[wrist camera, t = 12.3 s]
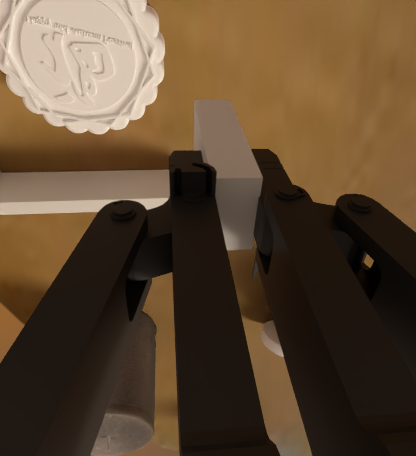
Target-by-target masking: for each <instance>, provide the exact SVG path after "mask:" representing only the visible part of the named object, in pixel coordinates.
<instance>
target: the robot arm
mask: <svg viewBox="0 0 416 456" xmlns="http://www.w3.org/2000/svg"><path fill="white" fill-rule="evenodd" d="M169 185H170V197H169V199H168V200H167V201H166V202H165V203H164V204H162V205H160V206H158V207H156V208H152V209H148V210H147V209H146V208H145V206H144V205H142V204H141V203H139V202H136V201H132V200H118V201H114V202H111V203H109V204H107V205H105V206H104V207H103V208H101V209H100V210H99V212H98V214H97V215H96V217H95V218H94V220H93V221H92V223H91V224H90V226H89V227H88V229H87V230H86V232H85V234H84V235H83V237H82V238H81V240H80V241H79V243H78V244H77V246H76V247H75V249H74V251H73V252H72V254H71V255H70V257H69V258H68V260H67V261H66V263H65V264H64V266H63V268H62V269H61V271H60V272H59V274H58V275H57V277H56V278H55V280H54V281H53V283H52V284H51V286H50V288H49V289H48V291H47V292H46V294H45V295H44V297H43V298H42V300H41V301H40V303H39V305H38V306H37V308H36V309H35V311H34V312H33V314H32V315H31V317H30V318H29V320H28V321H27V323H26V325H25V326H24V328H23V329H22V331H21V332H20V334H19V336H18V337H17V339H16V340H15V342H14V343H13V345H12V346H11V348H10V349H9V351H8V352H7V354H6V355H5V357H4V359H3V360H2V362H1V363H0V456H90V455H91V452H92V449H93V447H94V444H95V441H96V438H97V435H98V433H99V430H100V427H101V424H102V421H103V419H104V416H105V413H106V410H107V407H108V405H109V402H110V399H111V396H112V393H113V390H114V388H115V385H116V382H117V379H118V376H119V374H120V371H121V368H122V365H123V362H124V360H125V357H126V354H127V351H128V348H129V346H130V343H131V340H132V337H133V334H134V331H135V329H136V326H137V323H138V320H139V317H140V315H141V312H142V309H143V306H144V303H145V301H146V298H147V295H148V292H149V289H150V286H151V284H152V278H154V277H157V276H160V275H164V274H167V273H170V272H172V274H173V299H174V325H175V351H176V376H177V402H178V427H179V453H180V456H280V454H279V451H278V449H277V447H276V445H275V444H274V443H273V442H272V441H271V440H270V439H269V437H268V435H267V432H266V428H265V424H264V419H263V415H262V410H261V405H260V401H259V396H258V392H257V387H256V382H255V378H254V373H253V369H252V364H251V359H250V355H249V350H248V345H247V341H246V336H245V332H244V327H243V322H242V318H241V313H240V308H239V304H238V299H237V295H236V290H235V285H234V281H233V276H232V271H231V267H230V262H229V258H228V253H227V250H250V249H252V248H253V241H254V237H255V240H256V244H257V250H256V256H255V262H254V268H253V277H256V275H257V271H258V270H259V273H260V277H261V280H262V283H263V287H264V290H265V294H266V297H267V301H268V304H269V307H270V311H271V314H272V318H273V321H274V325H275V328H276V332H277V335H278V338H279V342H280V345H281V349H282V352H283V356H284V359H285V362H286V366H287V369H288V373H289V376H290V380H291V383H292V387H293V390H294V393H295V397H296V400H297V404H298V407H299V411H300V414H301V417H302V421H303V424H304V428H305V431H306V435H307V438H308V442H309V445H310V448H311V452H312V455H313V456H416V232H414V231H413V230H412V229H411V228H409V227H408V226H407V225H406V224H404V223H403V222H402V221H401V220H399V219H398V218H397V217H396V216H394V215H393V214H392V213H391V212H389V211H388V210H387V209H386V208H384V207H383V206H382V205H381V204H380V203H378V202H377V201H375V200H373V199H372V198H369V197H366V196H365V195H361V194H359V195H358V194H345V195H342V196H340V197H339V198H338V199H337V201H336V205H335V206H332V205H326V204H320V203H316V202H313V201H312V199H311V197H310V195H309V194H308V193H307V192H306V191H305V190H304V189H302V188H301V187H299V186H296V185H292V183H291V181H290V179H289V177H288V175H287V174H286V172H285V170H284V168H283V166H282V164H280V160H279V159H278V157H277V155H276V154H274V153H273V152H272V151H270V150H269V149H251V148H250V146H249V144H248V141H247V139H246V137H245V134H244V132H243V130H242V127H241V125H240V123H239V120H238V118H237V116H236V113H235V111H234V109H233V106H232V104H231V102H230V100H196V99H195V107H194V151H174V152H173V153H172V154H171V155H170V156H169ZM367 254H368V255H369V256H370V257H371V258H372V259H373V260H374V262H373V265H372V267H371V268H369V267H368V266H367V265H366V264H365V263H364V260H365V257H366V255H367Z"/></svg>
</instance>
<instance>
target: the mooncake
mask: <svg viewBox="0 0 416 456" xmlns="http://www.w3.org/2000/svg"><path fill="white" fill-rule="evenodd" d="M164 55H165V42H164V38H163V35H162V34H161V33H160V31H159V18H158V15H157V13H156V11H155V10H154V9H153V8H152V7H151V6H149V5H147V0H0V70H1V71H2V72H4V73H5V74H7V75H6V82H7V85H8V87H9V89H10V90H11V91H12V92H13V93H15V94H16V95H18V96H21V97H23V102H24V104H25V106H26V107H27V108H28V109H29V110H30V111H31V112H33V113H36V114H43V116H44V118H45V120H46V121H47V122H48V123H50V124H51V125H54V126H64V125H65V126H66V127H67V128H68V129H69V130H70V131H72V132H74V133H83V132H85V131H87V130H89V131H90V132H91V133H94V134H103V133H105V132H107V131H108V130H109V128H111V129H114V130H120V129H123V128H125V127H126V126H127V124H128V122H129V120H136V119H139V118H140V117H142V115H143V114H144V112H145V105H149V104H151V103H153V102H154V101H155V99H156V97H157V85H158V84H160V83H161V81H162V80H163V77H164V62H163V58H164Z"/></svg>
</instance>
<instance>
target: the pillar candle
mask: <svg viewBox="0 0 416 456" xmlns="http://www.w3.org/2000/svg"><path fill="white" fill-rule="evenodd" d="M156 331H157V330H156V325H155V324H154V322H153V320H152V319H151V318H150V317H149V316H148V315H147V314H145V313H144V312H141V315H140V317H139V320H138V323H137V326H136V329H135V331H134V334H133V337H132V340H131V343H130V346H129V348H128V351H127V354H126V357H125V360H124V362H123V365H122V368H121V371H120V374H119V376H118V379H117V382H116V385H115V388H114V390H113V393H112V396H111V399H110V402H109V405H108V407H107V410H106V413H105V416H104V419H103V421H102V424H101V427H100V430H99V433H98V435H97V438H96V441H95V444H94V447H93V449H92V452H91V455H97V456H117V455H122V454H127V453H131V452H134V451H136V450H139V449H141V448H142V447H145V446H146V445H147V444H148V443H149V442H150V441H151V440H152V438H153V435H154V410H155V348H156V342H155V335H156Z"/></svg>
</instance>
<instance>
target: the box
mask: <svg viewBox="0 0 416 456" xmlns="http://www.w3.org/2000/svg"><path fill="white" fill-rule="evenodd" d="M169 197H170V185H169V170H119V171H69V172H19V173H1V170H0V215H10V214H41V213H73V212H99V210H100V209H101V208H103V207H104V206H105V205H107V204H109V203H111V202H114V201H118V200H132V201H136V202H139V203H141V204H142V205H144V206H145V208H146V209H147V210H148V209H152V208H156V207H158V206H160V205H162V204H164V203H165V202H166V201H167V200H168V199H169Z"/></svg>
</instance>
